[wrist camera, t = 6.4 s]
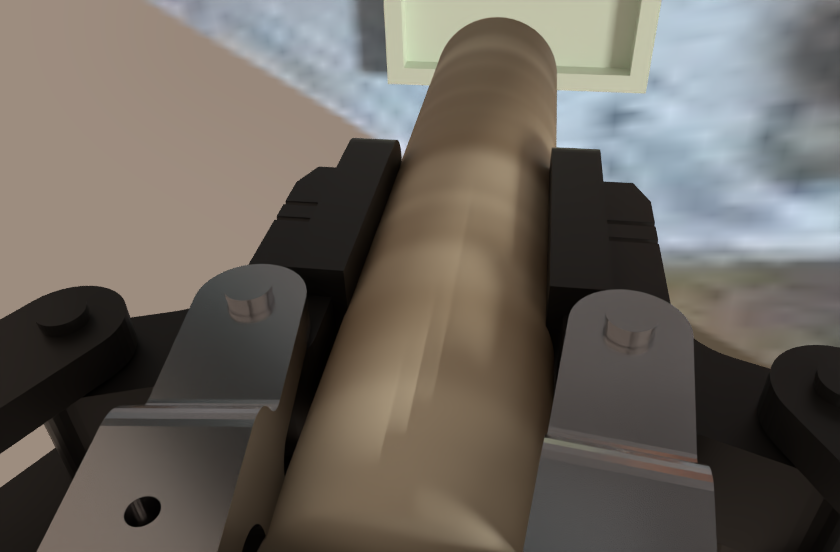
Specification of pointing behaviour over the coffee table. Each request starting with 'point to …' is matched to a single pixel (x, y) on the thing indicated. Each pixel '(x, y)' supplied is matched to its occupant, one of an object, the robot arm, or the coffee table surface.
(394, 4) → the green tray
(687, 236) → the coffee table surface
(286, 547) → the birch pin
